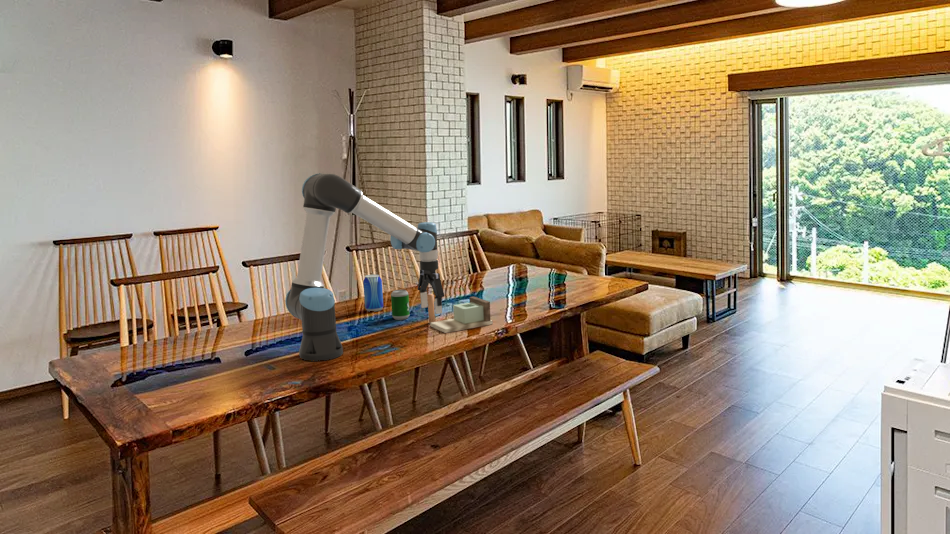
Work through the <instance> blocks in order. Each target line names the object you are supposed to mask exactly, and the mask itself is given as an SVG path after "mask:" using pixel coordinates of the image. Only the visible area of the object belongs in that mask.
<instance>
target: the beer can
mask: <svg viewBox="0 0 950 534" xmlns="http://www.w3.org/2000/svg"><path fill="white" fill-rule="evenodd" d="M362 283H363V298H364V299H363V301H364V309H366V311H367V312H370V311H374V312H379V311H382V310H383V308H384V296H383V280H382V278H381V277H380V274H367V275H365V276H364V278H363V281H362Z"/></svg>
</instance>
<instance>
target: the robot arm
mask: <svg viewBox="0 0 950 534" xmlns="http://www.w3.org/2000/svg"><path fill="white" fill-rule="evenodd" d="M301 195H302V198H303V207H302V209H303V210H304V211H305V213H306V214H305V215H306V216H305V220H304V221H305V222H304V228H303V236H302V241H301V248H300V254H299V262H298V267H297V275H296V277H295V278H294V279H293V280H292V281H291V284H290V289H289V290H288V291H287V293H286V295H285V300H284V302H285V308H286V309H287V311H288V312H289V314H291V316H293V317H294V318H296V319H299V320H300V321H301V329H302V338H301V341H300V347H299V350H298V353H299V354H298V355H299V356H300V357H299V359H300V358H302V359H304V360H303V361H305V360H311V361H310V362H321V361H320V360H324V361H327V360H328V361H329V359H330V360H333V359H336V358H339V357H340V356H342V355H343V354H344V347H343V345H342V342H341V339H340V338H339V335H338V333H337V322H336V321H337V320H336V308H335V303H336V300H335V297H334V293H333V291H332V290H330V289H328V288H325V285H324V283H323V281H322V273H323V265H324V260H325V253H326V248H327V240H328V235H329V234H328V233H329V228H330V221H331V217H332V216H333V215H334V214H336V210H337V209H339V210H341V211H342V212H344V213H346V214H354V215H355V216H356V217H359V218H361V219H362V220H364V221H365V222H367V223H369V224H370V225H373V226H374V227H375V228H378V229H379V230H381V231H383V233H386V234H388V235H390V237H389V238H390V240H389V241H390V245H391V247H392V248H393V249H394V250H404V249H405V250H410V251H416V252H418V253H419V254H418V255H419V258H418V259H419V260H420V261H419V269H420V270H419V276H418V277H419V279H418V283H417V291H419V293H420V306H421V307H420V308H421V309H425V308H426V309H427V308H428V290H427V289H428V286H429V285H430V286H431V289H432V290H433V294H434V310H435V315H439V314H440V315H441V314H443V305H442V304H443V302H442V299H443V298H444V297H445V293H444V288H443V284H442V281H441V275H440V274H441V273H437V272H436V270H438V269H439V260H438V256H439V255H438V253H439V251H438V230H437V224H436V223H435V222H434V221H424V222H419V223H418V224H417V227H416V226H415V225H413V224H411V223H410V222H408V221H407V220H405V219H404V218H402V217H400V216H398V215H397V214H395V213H394V212H392V211H390V210H389V209H387V208H385V207H384V206H382V205H380V204H379V203H377V202H376V201H374V200H372V199H370V198H369V197H367V196H366V195H364V194H363V191H362V189H360V188H358V187H357V186H355V185H353V184H352V183H351V182H350V181H348V180H346V179H345V178H343V177H342V176H339V175H338V174H334V173H320V172H319V173H315V174H313V175H310V176H308V177H307V178H306V179H305V181H304V182H303V184H302V188H301ZM302 359H301V360H302ZM313 360H314V361H313ZM318 360H319V361H318Z"/></svg>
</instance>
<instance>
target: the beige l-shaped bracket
mask: <svg viewBox="0 0 950 534" xmlns="http://www.w3.org/2000/svg"><path fill="white" fill-rule="evenodd" d="M470 302H473V303H476V304H479V305H482V306H483V312H484V320H483V321H477V322H472V323H466V324H464V323H462V322H459V321H457V320H454V318H450V319H449V318H448V319H444V320H438V321H435V322H431V323H430V324H429V325H430V327H431V328H433V329H435V330H438V331H439V332H443V333H444V334H447V333H448V334H449V333H452V332H457V331H463V330H467V329H468V330H469V329H474V328H479V327H485V326H490V325H494V324H493V320H492V319H491V302H490V301H489V300H485V299H482V298H479V297H477V296H470V297H469V303H470Z"/></svg>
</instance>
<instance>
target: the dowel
mask: <svg viewBox="0 0 950 534" xmlns="http://www.w3.org/2000/svg"><path fill="white" fill-rule="evenodd" d="M427 303H428V307H427V308H428V309H427V311H428V312H427V313H428V324H429V325H430V323H431V322H436V314H435V294H434V293H433V294H432V293H429V294H427Z"/></svg>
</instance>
